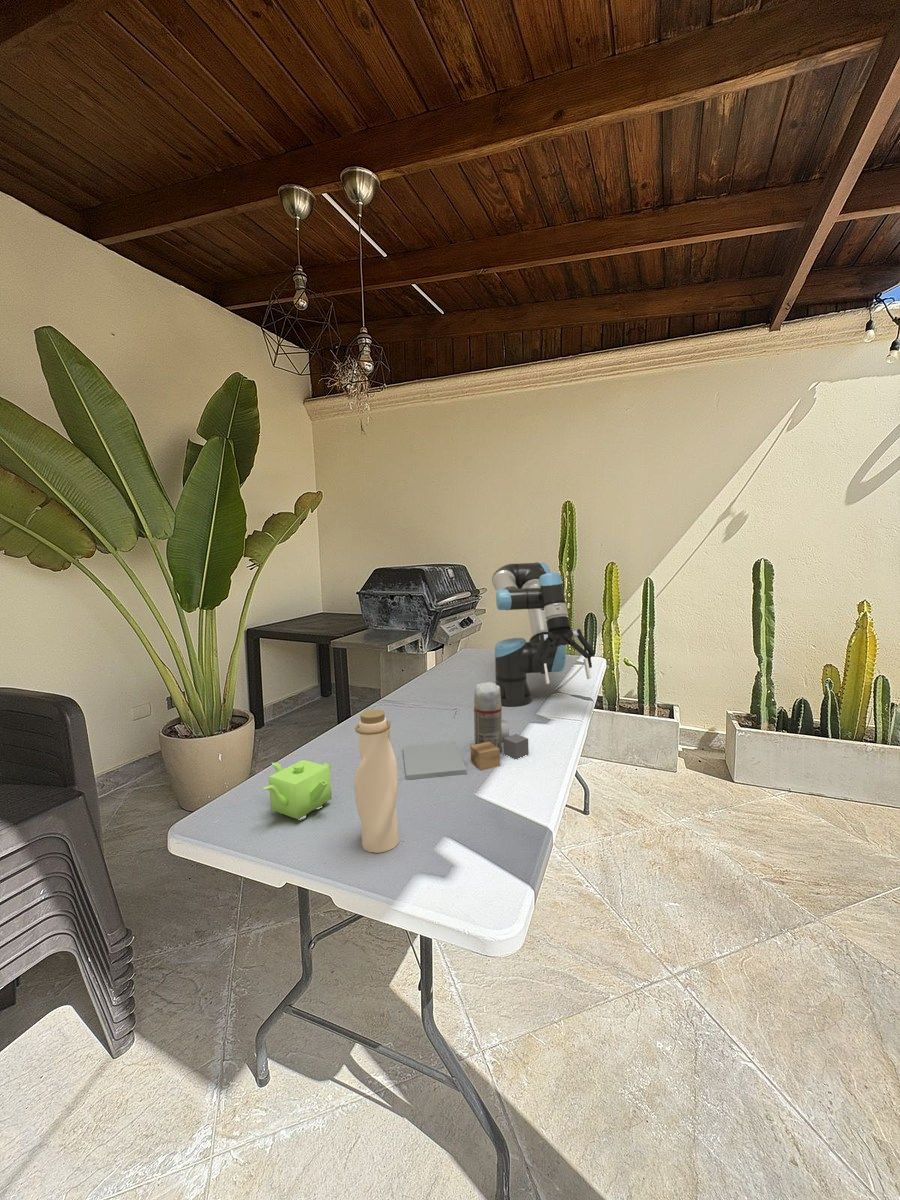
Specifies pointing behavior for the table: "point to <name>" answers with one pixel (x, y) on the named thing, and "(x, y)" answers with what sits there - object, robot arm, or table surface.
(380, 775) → the water bottle
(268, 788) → the kettle
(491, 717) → the red-banded paper cylinder
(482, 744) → the walnut block
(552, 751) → the table surface
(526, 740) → the charcoal rubber cube
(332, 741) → the table surface
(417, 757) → the slate board
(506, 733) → the white rounded cylinder
